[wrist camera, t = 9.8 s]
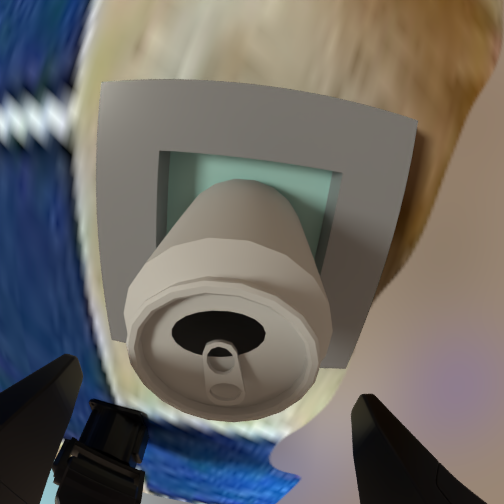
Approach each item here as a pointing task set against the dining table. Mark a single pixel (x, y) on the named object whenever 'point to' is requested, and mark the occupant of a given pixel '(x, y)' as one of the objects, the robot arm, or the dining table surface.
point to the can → (230, 307)
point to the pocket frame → (251, 168)
